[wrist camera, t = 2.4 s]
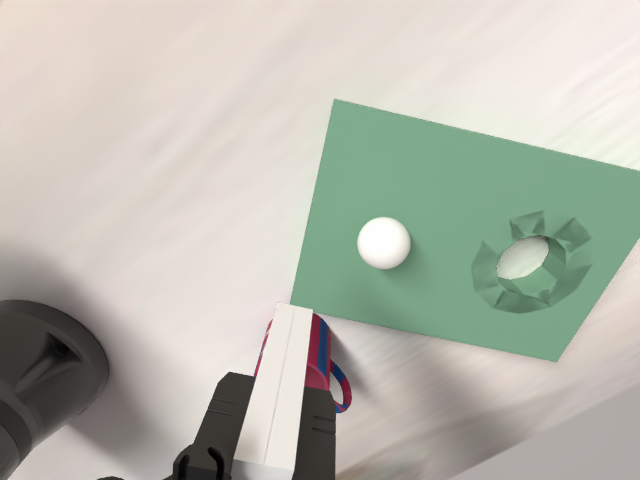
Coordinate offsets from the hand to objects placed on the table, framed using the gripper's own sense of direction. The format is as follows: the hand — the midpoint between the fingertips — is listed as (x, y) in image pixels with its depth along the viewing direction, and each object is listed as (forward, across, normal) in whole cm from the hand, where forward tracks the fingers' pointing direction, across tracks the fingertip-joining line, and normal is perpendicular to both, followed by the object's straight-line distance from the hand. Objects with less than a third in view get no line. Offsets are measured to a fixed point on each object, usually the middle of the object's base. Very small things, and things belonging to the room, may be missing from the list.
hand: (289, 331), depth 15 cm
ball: (+14, +6, 0) cm, 15 cm away
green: (+17, +13, 0) cm, 21 cm away
